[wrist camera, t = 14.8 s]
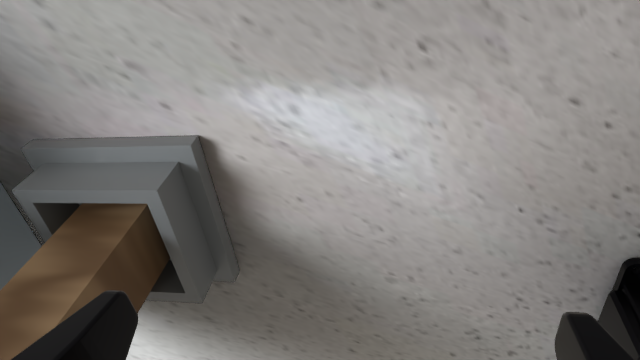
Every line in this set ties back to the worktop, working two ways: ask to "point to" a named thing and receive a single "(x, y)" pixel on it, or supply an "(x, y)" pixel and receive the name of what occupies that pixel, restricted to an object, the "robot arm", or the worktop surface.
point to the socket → (137, 200)
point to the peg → (81, 270)
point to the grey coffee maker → (13, 239)
